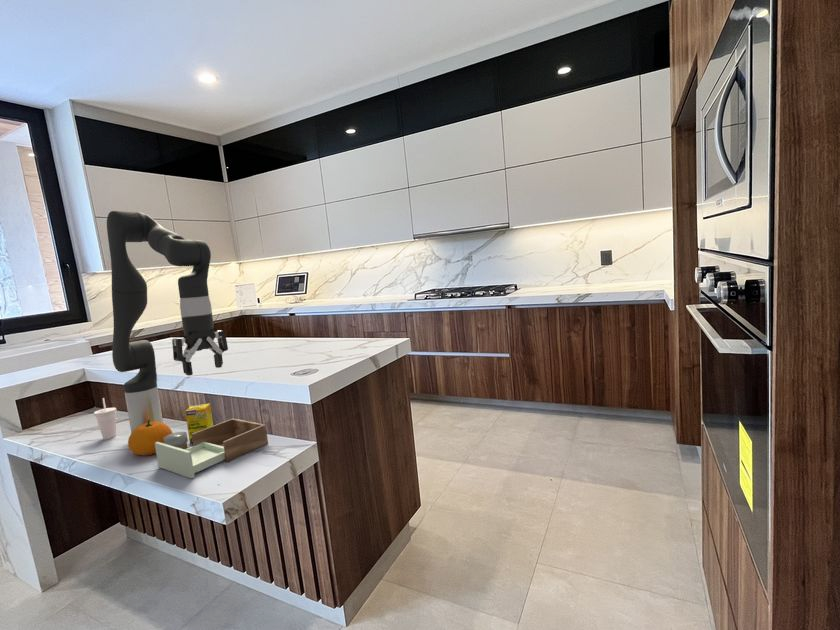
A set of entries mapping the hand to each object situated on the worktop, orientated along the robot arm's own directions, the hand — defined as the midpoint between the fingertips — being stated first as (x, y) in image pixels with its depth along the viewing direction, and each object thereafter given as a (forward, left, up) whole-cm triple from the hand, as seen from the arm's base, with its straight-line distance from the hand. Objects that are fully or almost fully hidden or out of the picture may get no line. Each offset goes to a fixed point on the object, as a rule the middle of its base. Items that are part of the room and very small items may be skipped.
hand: (204, 371), depth 118 cm
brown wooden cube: (-14, -3, -26) cm, 30 cm away
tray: (-3, -3, -26) cm, 26 cm away
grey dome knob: (-14, -3, -22) cm, 26 cm away
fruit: (-27, -4, -26) cm, 38 cm away
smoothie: (-57, -4, -26) cm, 63 cm away
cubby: (-3, +6, -26) cm, 27 cm away
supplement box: (-20, +8, -26) cm, 34 cm away
